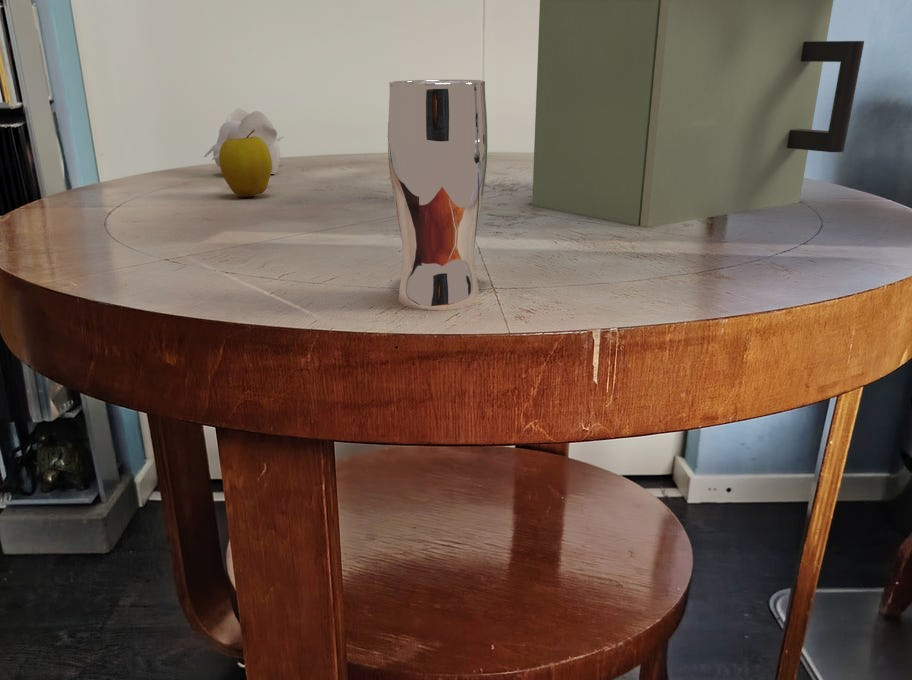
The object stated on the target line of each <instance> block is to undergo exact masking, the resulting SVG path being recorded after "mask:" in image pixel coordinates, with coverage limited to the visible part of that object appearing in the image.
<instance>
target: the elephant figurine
mask: <svg viewBox="0 0 912 680" xmlns="http://www.w3.org/2000/svg"><path fill="white" fill-rule="evenodd" d="M253 130H254V132H253V133H252V134H251V135H250V136H249V138H250V137H253V136H255V137H259V138H260V139H262V140H263V141H264V142H265V144H266V145H267V147H268V150H269V153H270V156H271V160H272V172H271V174H274V175H276V174H277V172H278V169H279V167H280V162H281V151H280V146H279V143H278V142H279V141H281V140H282V139H284V138H285V136H284V135H281V136H278V132H277V129H276V128H275V127H274V124H273V122H272V121H271V119H270V118H269V117H268V116H267V115H265V114H264V113H263V112H262V111H258V110H255V111H252V112H251V113H249V112H248V111H247V110H245V109H243V108H241V107H240V108H235V109H233V110H231V111H230V112H229V113H228V114H227V117H226V121H225V122H223V124H222V125H221V126H220V128H219V131H218V137H217V140H216V143H215V144H214V145H213V146H212V147H211V148H210V149H209V150H208V151H206V153H205V154H204V156H203V158H207V157H208V156H209V155H211V153H212V155H213V157H212V158H211V162H212V161H214V162H215V164H216V166H218V167H219V168H220V163H219V153H220V148H221V146H222V144H223V143H224V142H225V141H226V140H228V139H231V138H233V139H241V138H246V137H247V136H248V135H249V134H250V133H251V132H252V131H253Z"/></svg>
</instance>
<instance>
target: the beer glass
mask: <svg viewBox="0 0 912 680" xmlns="http://www.w3.org/2000/svg"><path fill="white" fill-rule="evenodd" d="M387 109H388V111H387V155H388V156H387V158H388V170H389V177H390V184H391V190H392V195H393V202H394V205H395V206H394V207H395V212H396V217H397V221H398V226H399V232H400V238H401V247H402V248H401V250H402V267H401V268H402V269H401V277H400V284H399V290H398V302H399V304H400V305H402V306H404V307H407V308H410V309H414V310H422V311H438V312H439V311H453V310H454V311H455V310H461V309H466V308H469V307H472V306H475V305H477V304H478V303H479V302H480V290H479V284H478V278H477V272H476V264H475V261H476V260H475V248H476V247H475V246H476V238H477V237H476V236H477V231H478V223H479V218H480V213H481V207H482V201H483V197H484V196H483V195H484V189H485V182H486V174H487V165H488V148H489V147H488V146H489V145H488V119H487V118H488V116H487V115H488V114H487V101H486V81H485V80H481V79H409V80H393V81H389V82H388V108H387Z"/></svg>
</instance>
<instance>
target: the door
mask: <svg viewBox="0 0 912 680" xmlns="http://www.w3.org/2000/svg"><path fill="white" fill-rule="evenodd" d="M833 6H834V0H661V4H660V15H659V26H658V37H657V48H656V59H655V70H654V80H653V91H652V102H651V113H650V124H649V135H648V146H647V156H646V167H645V178H644V189H643V200H642V211H641V222H640V225H639V227H642V228H643V227H644V228H653V227H658V226H659V227H660V226H663V225H664V226H665V225H672V224H677V223H684V222H690V221H696V220H701V219H708V218H713V217H719V216H720V217H721V216H725V215H726V216H727V215H732V214H739V213H744V212H751V211H757V210H763V209H769V208H775V207H782V206H788V205H793V204H794V205H795V204H799V203H800V201H801V195H802V189H803V185H804V184H803V183H804V178H805V171H806V165H807V161H808V160H807V159H808V154H809V151H815V152H825V153H844V152H845V147H846V143H847V137H848V131H849V127H850V121H851V115H852V110H853V105H854V99H855V94H856V89H857V84H858V83H857V82H858V78H859V72H860V69H861V63H862V57H863V51H864V45H865V41H864V40H829V41H828V36H829V29H830V25H831V17H832V11H833ZM824 63H839V69H838V74H837V81H836V84H835V85H836V86H835V92H834V96H833V97H834V98H833V101H832V108H831V109H832V110H831V114H830V119H829V125H828V129H827V130H822V129H813V124H814V117H815V114H816V113H815V112H816V107H817V106H816V105H817V101H818V95H819V88H820V82H821V76H822V70H823V64H824Z"/></svg>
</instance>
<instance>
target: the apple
mask: <svg viewBox="0 0 912 680" xmlns="http://www.w3.org/2000/svg"><path fill="white" fill-rule="evenodd" d="M253 132H254V130H253V131H252V132H251V133H250V134H249V135H248V136H247V137H246V138H241V139H233V138H231V139H228V140H226V141H225V142H224V143H223V144H222V146H221V148H220V153H219V163H220V167H219V168H220V171H221V174H222V176H223V179H224V180H225V182H226V184H227V186H228V187H229V188H230V190H231V191H232V192H233V193H234V194H235V195H236V196H237V197H238V198H246V197H254V196H255V195H260V194H263V193H264V192H266V190H267V188H268V186H269V183H270V182H269V181H270V178H271V176H272V175H271V172H272V160H271V156H270V153H269V150H268V147H267V145H266V144H265V142H264V141H263V140H262V139H260V138H259V137H255V136H253V137H250V138H249V136H250V135H251V134H252V133H253Z"/></svg>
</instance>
